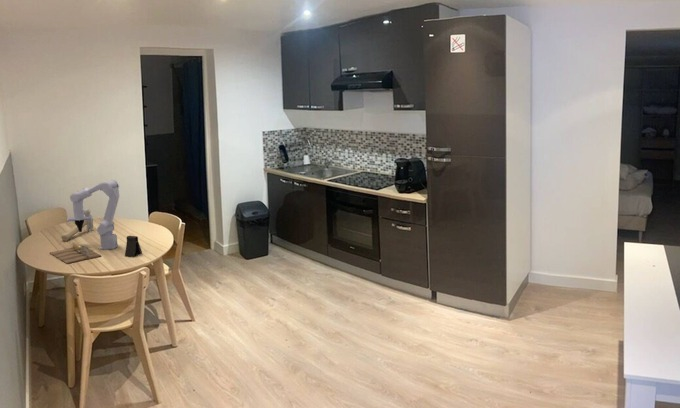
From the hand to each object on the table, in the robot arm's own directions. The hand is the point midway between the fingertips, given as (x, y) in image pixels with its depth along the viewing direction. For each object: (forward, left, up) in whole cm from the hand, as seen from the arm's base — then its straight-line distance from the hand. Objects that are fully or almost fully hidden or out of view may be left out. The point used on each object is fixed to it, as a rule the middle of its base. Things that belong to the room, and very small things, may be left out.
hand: (80, 231), depth 351 cm
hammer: (+13, -24, -10) cm, 29 cm away
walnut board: (-5, +20, -9) cm, 23 cm away
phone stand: (-40, +19, -10) cm, 45 cm away
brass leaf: (-3, +14, -8) cm, 17 cm away
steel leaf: (-11, +22, -9) cm, 26 cm away
